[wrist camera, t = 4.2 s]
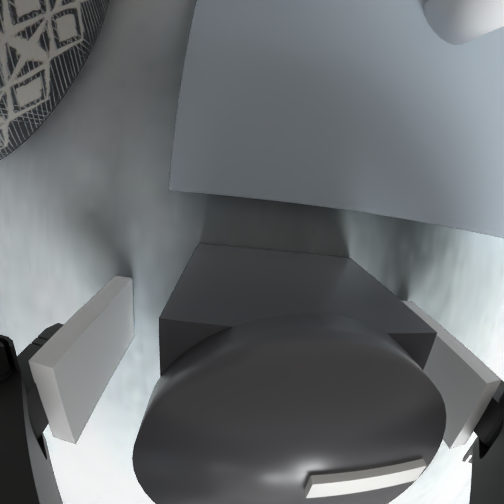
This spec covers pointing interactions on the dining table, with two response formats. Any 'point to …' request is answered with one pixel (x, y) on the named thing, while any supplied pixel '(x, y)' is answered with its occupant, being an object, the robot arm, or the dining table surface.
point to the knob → (287, 385)
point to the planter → (41, 59)
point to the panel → (347, 107)
